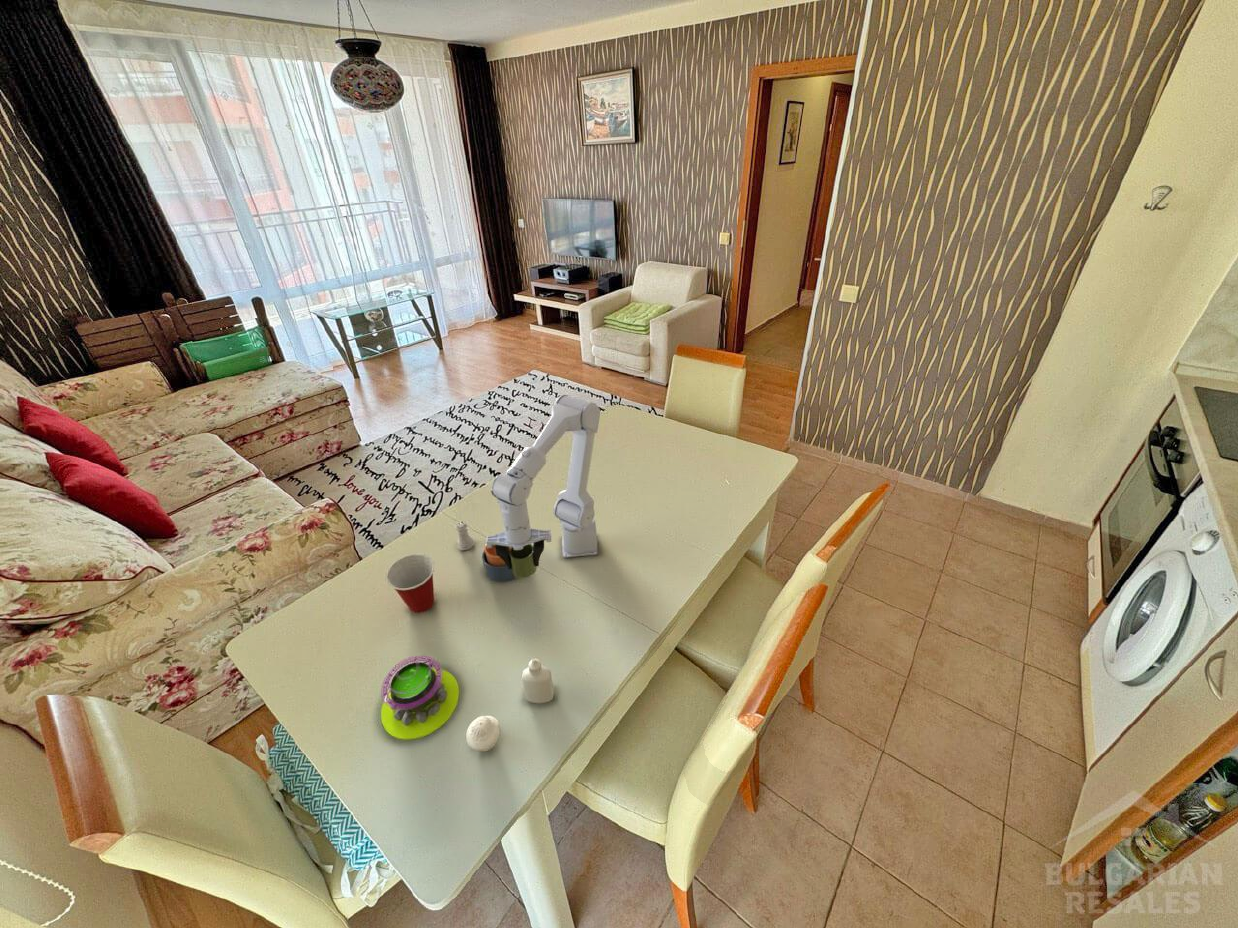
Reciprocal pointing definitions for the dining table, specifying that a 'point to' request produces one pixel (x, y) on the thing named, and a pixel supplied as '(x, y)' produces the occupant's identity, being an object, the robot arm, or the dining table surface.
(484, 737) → the white rounded egg shape
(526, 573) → the olive cup
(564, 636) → the dining table surface
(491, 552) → the stack mid
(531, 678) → the eye dropper bottle
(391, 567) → the plastic cup
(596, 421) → the robot arm
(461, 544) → the rook chess piece
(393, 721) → the toy cauldron
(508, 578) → the stack big
